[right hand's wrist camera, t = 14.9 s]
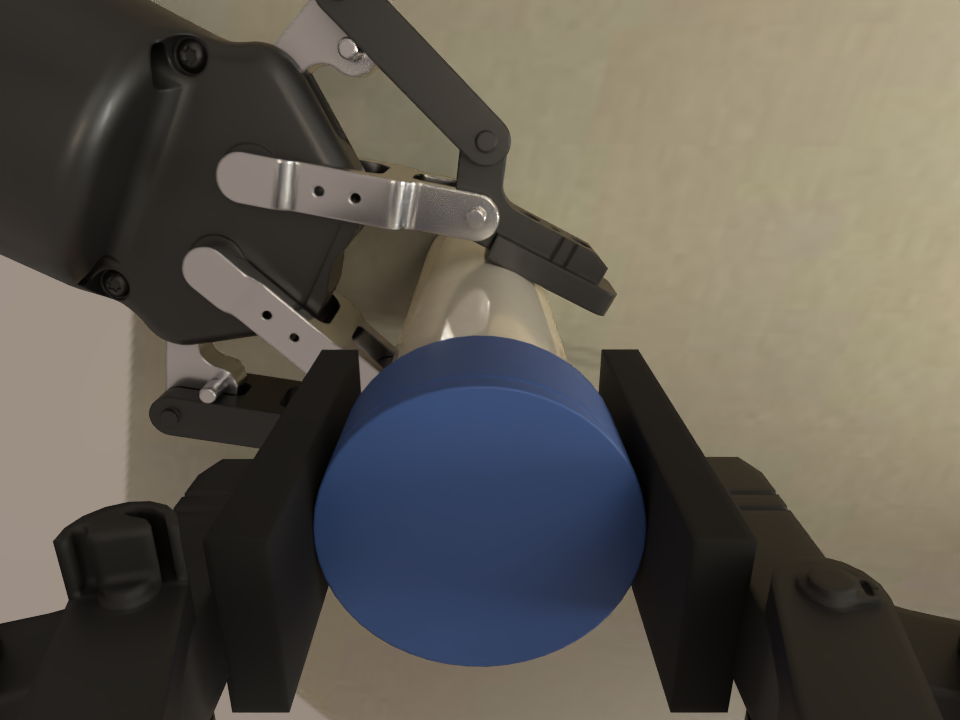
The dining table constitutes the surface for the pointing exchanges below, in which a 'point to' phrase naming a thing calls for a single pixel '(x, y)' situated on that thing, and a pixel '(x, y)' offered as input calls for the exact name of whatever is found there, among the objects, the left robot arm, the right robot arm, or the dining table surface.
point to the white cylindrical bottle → (475, 301)
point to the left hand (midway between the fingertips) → (561, 365)
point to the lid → (479, 505)
